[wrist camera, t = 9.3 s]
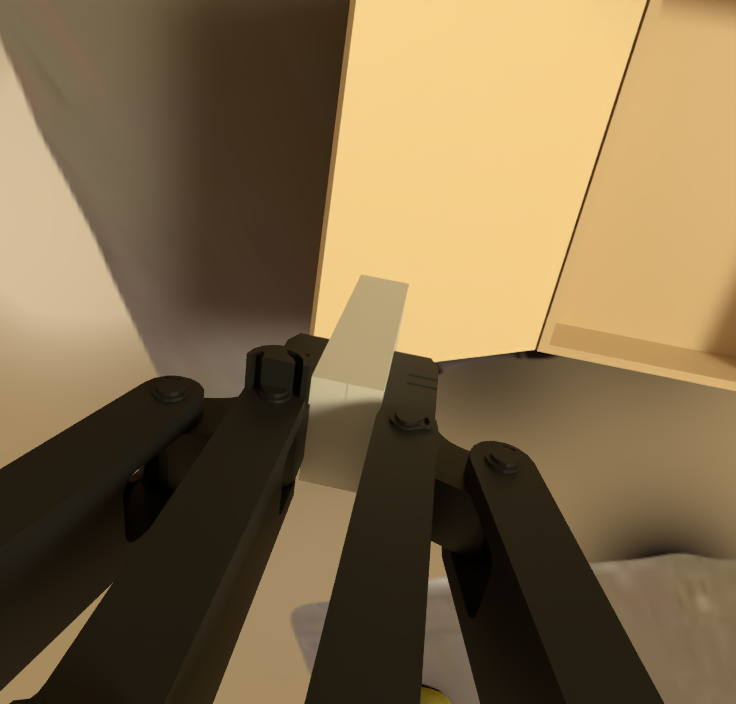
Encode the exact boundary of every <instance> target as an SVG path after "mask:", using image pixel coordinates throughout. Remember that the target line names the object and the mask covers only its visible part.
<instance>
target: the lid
mask: <svg viewBox="0 0 736 704" xmlns="http://www.w3.org/2000/svg"><path fill="white" fill-rule="evenodd" d="M646 2H647V0H350V6H349V15H348V23H347V31H346V39H345V47H344V56H343V64H342V72H341V80H340V88H339V96H338V105H337V113H336V121H335V129H334V137H333V146H332V154H331V162H330V170H329V178H328V187H327V195H326V203H325V211H324V219H323V227H322V236H321V244H320V252H319V260H318V268H317V277H316V285H315V293H314V301H313V309H312V318H311V326H310V334H309V335H312V336H317V337H322V338H327V339H330V338H331V336H332V333H333V331H334V329H335V327H336V325H337V323H338V321H339V319H340V317H341V315H342V313H343V311H344V309H345V307H346V305H347V303H348V300H349V298H350V296H351V294H352V292H353V290H354V288H355V286H356V284H357V282H358V280H359V278H360V276H361V274H362V275H367V276H372V277H377V278H382V279H387V280H392V281H397V282H402V283H407V284H409V287H408V292H407V297H406V302H405V307H404V313H403V318H402V323H401V328H400V333H399V338H398V343H397V348H396V351H397V352H402V353H407V354H412V355H417V356H422V357H427V358H431V359H432V360H433V362H438V361H447V360H455V359H463V358H471V357H480V356H488V355H496V354H504V353H513V352H521V351H529V350H535V348H536V345H537V342H538V339H539V336H540V333H541V330H542V327H543V323H544V320H545V317H546V314H547V311H548V308H549V305H550V302H551V298H552V295H553V292H554V289H555V286H556V283H557V280H558V277H559V274H560V270H561V267H562V264H563V261H564V258H565V255H566V252H567V249H568V245H569V242H570V239H571V236H572V233H573V230H574V227H575V224H576V220H577V217H578V214H579V211H580V208H581V205H582V202H583V199H584V196H585V192H586V189H587V186H588V183H589V180H590V177H591V174H592V171H593V167H594V164H595V161H596V158H597V155H598V152H599V149H600V146H601V143H602V139H603V136H604V133H605V130H606V127H607V124H608V121H609V118H610V114H611V111H612V108H613V105H614V102H615V99H616V96H617V93H618V89H619V86H620V83H621V80H622V77H623V74H624V71H625V68H626V65H627V61H628V58H629V55H630V52H631V49H632V46H633V43H634V40H635V36H636V33H637V30H638V27H639V24H640V21H641V18H642V15H643V12H644V8H645V5H646Z"/></svg>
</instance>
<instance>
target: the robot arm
mask: <svg viewBox="0 0 736 704" xmlns="http://www.w3.org/2000/svg"><path fill="white" fill-rule="evenodd" d="M408 287H409V284H407V283H402V282H397V281H392V280H387V279H382V278H377V277H372V276H367V275H362V274H361V276H360V278H359V280H358V282H357V284H356V286H355V288H354V290H353V292H352V294H351V296H350V298H349V300H348V303H347V305H346V307H345V309H344V311H343V313H342V315H341V317H340V319H339V321H338V323H337V325H336V327H335V329H334V331H333V333H332V336H331V338H330V339H327V338H322V337H317V336H312V335H307V334H302V333H300V334H298V335H296V336H294V337H292V338H291V339H289V340H288V341H287V342H286V344H285V345H284V346H280V345H267V346H261V347H257V348H254V349H252V350H251V351H250V352H248V353H247V359H246V375H245V388H244V389H243V391H242V392H241V394H240V395H239V397H233V398H204V389H203V387H202V386H201V385H200V383H198V382H196V381H194V380H192V379H190V378H186V377H181V376H163V377H157V378H153V379H151V380H149V381H146V382H144V383H143V384H141V385H139V386H137V387H136V388H134V389H132V390H131V391H129V392H128V393H126V394H124V395H122V396H121V397H119V398H118V399H116V400H114V401H112V402H111V403H109V404H107V405H106V406H104V407H102V408H101V409H99V410H97V411H96V412H94V413H92V414H91V415H89V416H88V417H86V418H84V419H83V420H81V421H79V422H78V423H76V424H74V425H73V426H71V427H69V428H68V429H66V430H64V431H63V432H61V433H60V434H58V435H56V436H54V437H53V438H51V439H49V440H48V441H46V442H44V443H43V444H41V445H39V446H38V447H36V448H34V449H33V450H31V451H29V452H28V453H26V454H24V455H23V456H21V457H19V458H18V459H16V460H14V461H13V462H11V463H10V464H8V465H6V466H5V467H3V468H1V469H0V691H1V690H2V689H3V688H4V687H5V686H6V685H7V684H8V683H9V682H10V681H11V680H12V679H14V677H16V676H17V674H19V673H20V672H21V671H22V670H23V669H24V668H25V667H26V666H27V665H28V664H29V663H30V662H31V661H32V660H33V659H34V658H35V657H36V656H37V655H38V654H39V653H40V652H42V651H43V649H45V648H46V647H47V646H48V645H49V644H50V643H51V642H52V641H53V640H54V639H55V638H56V637H57V636H58V635H59V634H60V633H61V632H62V631H63V630H64V629H65V628H66V627H67V626H68V625H70V623H72V622H73V621H74V620H75V619H76V618H77V617H78V616H79V615H80V614H81V613H82V612H83V611H84V610H85V609H86V608H87V607H88V606H89V605H90V604H91V603H92V602H93V601H94V600H95V599H97V598H98V597H99V596H100V594H102V593H103V592H104V591H105V590H106V589H107V588H108V587H109V586H110V585H111V584H112V583H113V584H112V585H111V587H110V588H109V590H108V591H107V593H106V594H105V596H104V597H103V599H102V600H101V602H100V603H99V604H98V606H97V607H96V609H95V611H94V612H93V613H92V615H91V617H90V618H89V619H88V621H87V622H86V624H85V625H84V627H83V628H82V630H81V631H80V633H79V634H78V636H77V637H76V639H75V640H74V642H73V643H72V645H71V646H70V648H69V649H68V650H67V652H66V653H65V655H64V656H63V658H62V659H61V661H60V663H59V664H58V665H57V667H56V668H55V670H54V671H53V673H52V674H51V676H50V677H49V679H48V680H47V682H46V683H45V684H44V685H43V687H42V688H41V689H40V691H39V692H38V693H37V694H35V695H34V696H33V697H32V698H30V699H23V700H14V701H12V702H11V703H10V704H213V702H214V699H215V696H216V694H217V691H218V689H219V686H220V684H221V681H222V678H223V676H224V673H225V671H226V668H227V665H228V663H229V660H230V658H231V655H232V652H233V650H234V647H235V645H236V642H237V640H238V637H239V634H240V632H241V629H242V627H243V624H244V622H245V619H246V616H247V614H248V611H249V608H250V606H251V604H252V601H253V598H254V596H255V593H256V590H257V588H258V585H259V583H260V580H261V578H262V575H263V572H264V570H265V567H266V565H267V562H268V560H269V557H270V554H271V552H272V549H273V547H274V544H275V542H276V539H277V536H278V534H279V531H280V529H281V526H282V524H283V521H284V518H285V516H286V513H287V511H288V508H289V505H290V503H291V500H292V498H293V495H294V487H295V478H296V475H297V473H298V470H299V468H300V474H299V480H302V481H306V482H311V483H315V484H320V485H324V486H329V487H334V488H338V489H342V490H348V491H352V492H356V493H357V494H356V498H355V502H354V506H353V510H352V514H351V518H350V523H349V526H348V531H347V534H346V538H345V543H344V546H343V550H342V554H341V558H340V563H339V567H338V571H337V575H336V579H335V583H334V587H333V591H332V595H331V599H330V603H329V607H328V611H327V615H326V619H325V623H324V627H323V631H322V635H321V639H320V643H319V647H318V651H317V655H316V659H315V663H314V667H313V671H312V675H311V679H310V683H309V687H308V692H307V696H306V700H305V704H420V700H421V685H422V669H423V654H424V638H425V623H426V607H427V592H428V577H429V561H430V546H431V541H433V542H435V543H437V544H439V545H441V546H442V559H443V562H444V566H445V570H446V574H447V578H448V582H449V585H450V589H451V593H452V597H453V601H454V605H455V609H456V612H457V616H458V620H459V624H460V628H461V632H462V635H463V639H464V643H465V647H466V651H467V655H468V658H469V662H470V666H471V670H472V674H473V678H474V681H475V685H476V689H477V693H478V697H479V701H480V704H664V702H663V700H662V698H661V697H660V695H659V693H658V691H657V689H656V687H655V685H654V684H653V682H652V680H651V678H650V676H649V674H648V673H647V671H646V669H645V667H644V665H643V663H642V661H641V660H640V658H639V656H638V654H637V652H636V650H635V648H634V647H633V645H632V643H631V641H630V639H629V637H628V635H627V634H626V632H625V630H624V628H623V626H622V624H621V623H620V621H619V619H618V617H617V615H616V613H615V611H614V610H613V608H612V606H611V604H610V602H609V600H608V598H607V597H606V595H605V593H604V591H603V589H602V587H601V586H600V584H599V582H598V580H597V578H596V576H595V574H594V573H593V571H592V569H591V567H590V565H589V563H588V561H587V560H586V558H585V556H584V554H583V552H582V550H581V549H580V547H579V545H578V543H577V541H576V539H575V537H574V536H573V534H572V532H571V530H570V528H569V526H568V525H567V523H566V521H565V519H564V517H563V515H562V513H561V512H560V510H559V508H558V506H557V504H556V502H555V500H554V499H553V497H552V495H551V493H550V491H549V489H548V488H547V486H546V484H545V482H544V480H543V478H542V476H541V475H540V473H539V471H538V469H537V467H536V465H535V463H534V462H533V461H532V460H531V459H530V457H529V456H528V455H527V454H525V453H524V452H522V451H521V450H520V449H518V448H516V447H514V446H512V445H509V444H506V443H501V442H496V441H485V442H480V443H478V444H476V445H474V446H473V448H472V449H471V451H468V450H465V449H463V448H460V447H458V446H456V445H455V444H453V443H451V442H449V441H448V440H447V439H445V438H444V437H443V436H442V435H441V434H440V433H439V432H438V426H437V422H436V420H435V411H436V397H437V383H438V382H437V381H438V368H437V366H436V365H435V363H434V362H433V360H432V359H431V358H427V357H422V356H417V355H412V354H407V353H402V352H397V351H396V348H397V343H398V338H399V333H400V328H401V323H402V318H403V313H404V307H405V302H406V297H407V292H408ZM300 465H301V466H300ZM138 469H139V471H137V470H138ZM136 471H137V472H136ZM135 472H136V473H135ZM134 473H135V474H134ZM133 474H134V475H133Z"/></svg>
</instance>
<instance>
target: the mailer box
mask: <svg viewBox="0 0 736 704" xmlns="http://www.w3.org/2000/svg"><path fill="white" fill-rule="evenodd" d="M536 349H537V351H539V352H544V353H549V354H554V355H559V356H564V357H569V358H574V359H579V360H584V361H589V362H594V363H598V364H604V365H609V366H614V367H618V368H624V369H628V370H633V371H639V372H643V373H649V374H653V375H658V376H663V377H668V378H673V379H678V380H683V381H688V382H693V383H698V384H703V385H708V386H713V387H718V388H723V389H728V390H733V391H736V0H647V2H646V5H645V8H644V12H643V15H642V18H641V21H640V24H639V27H638V30H637V33H636V36H635V40H634V43H633V46H632V49H631V52H630V55H629V58H628V61H627V65H626V68H625V71H624V74H623V77H622V80H621V83H620V86H619V89H618V93H617V96H616V99H615V102H614V105H613V108H612V111H611V114H610V118H609V121H608V124H607V127H606V130H605V133H604V136H603V139H602V143H601V146H600V149H599V152H598V155H597V158H596V161H595V164H594V167H593V171H592V174H591V177H590V180H589V183H588V186H587V189H586V192H585V196H584V199H583V202H582V205H581V208H580V211H579V214H578V217H577V220H576V224H575V227H574V230H573V233H572V236H571V239H570V242H569V245H568V249H567V252H566V255H565V258H564V261H563V264H562V267H561V270H560V274H559V277H558V280H557V283H556V286H555V289H554V292H553V295H552V298H551V302H550V305H549V308H548V311H547V314H546V317H545V320H544V323H543V327H542V330H541V333H540V336H539V339H538V342H537V345H536Z"/></svg>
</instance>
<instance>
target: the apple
mask: <svg viewBox="0 0 736 704" xmlns="http://www.w3.org/2000/svg"><path fill="white" fill-rule="evenodd" d="M420 704H451V702H450V700H449V699H448V698H447V696H446V695H444V694H443V693H441V692H439V691H436V690H433V689H430V688H425V687H421V700H420Z"/></svg>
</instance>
